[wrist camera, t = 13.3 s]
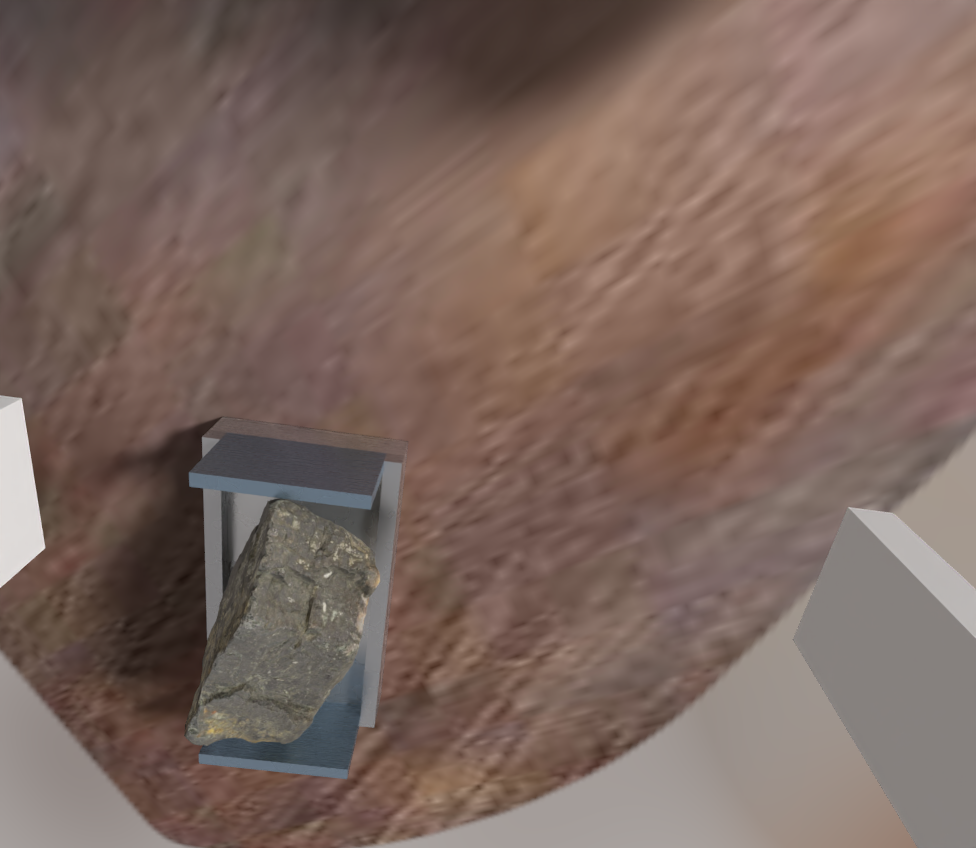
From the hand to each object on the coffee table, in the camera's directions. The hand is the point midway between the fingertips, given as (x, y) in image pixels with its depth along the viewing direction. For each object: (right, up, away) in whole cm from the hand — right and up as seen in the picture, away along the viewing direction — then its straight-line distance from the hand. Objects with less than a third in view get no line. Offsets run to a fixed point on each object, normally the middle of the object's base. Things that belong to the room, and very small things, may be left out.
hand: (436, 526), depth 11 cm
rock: (-10, -8, +28) cm, 31 cm away
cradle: (-11, -8, +32) cm, 34 cm away
